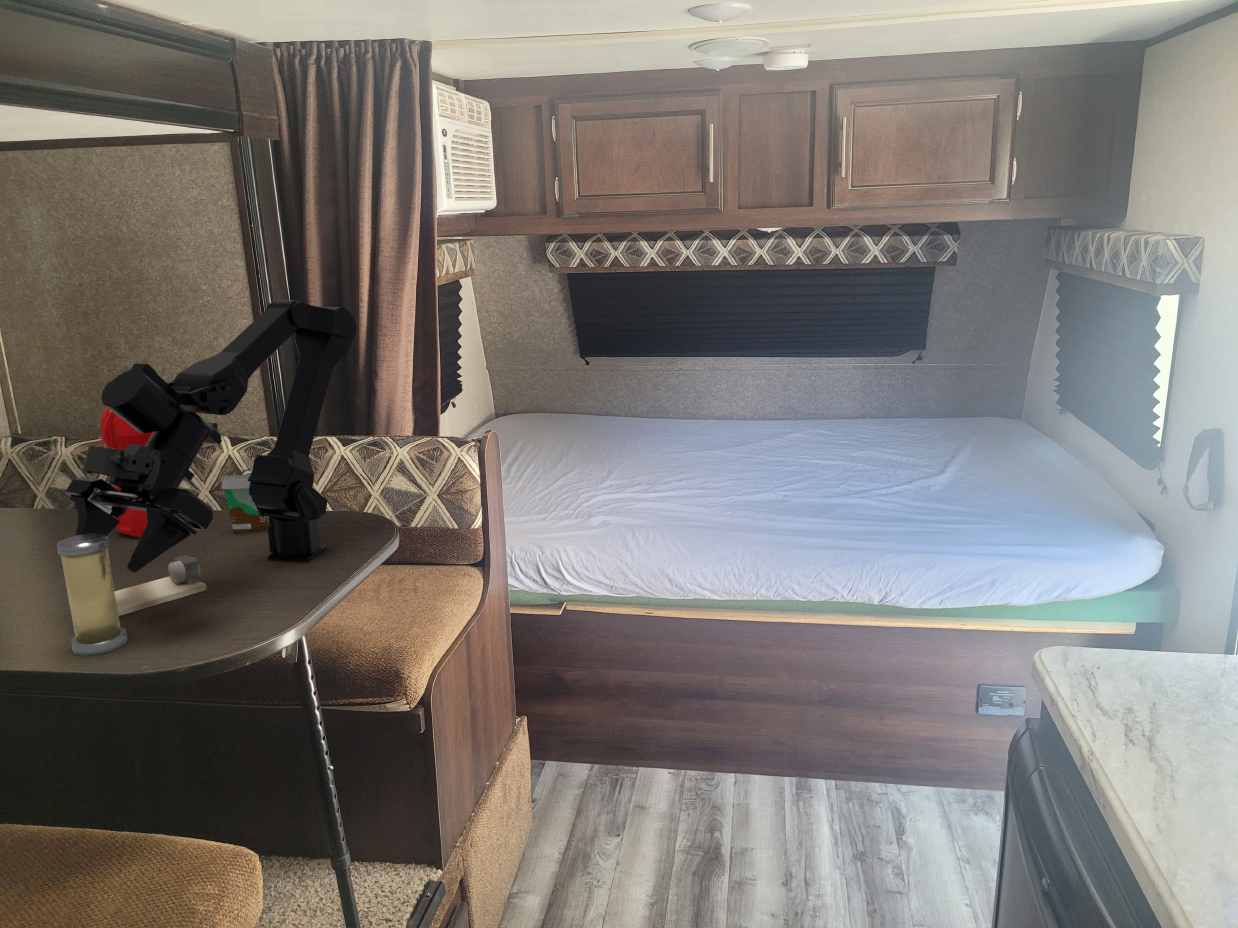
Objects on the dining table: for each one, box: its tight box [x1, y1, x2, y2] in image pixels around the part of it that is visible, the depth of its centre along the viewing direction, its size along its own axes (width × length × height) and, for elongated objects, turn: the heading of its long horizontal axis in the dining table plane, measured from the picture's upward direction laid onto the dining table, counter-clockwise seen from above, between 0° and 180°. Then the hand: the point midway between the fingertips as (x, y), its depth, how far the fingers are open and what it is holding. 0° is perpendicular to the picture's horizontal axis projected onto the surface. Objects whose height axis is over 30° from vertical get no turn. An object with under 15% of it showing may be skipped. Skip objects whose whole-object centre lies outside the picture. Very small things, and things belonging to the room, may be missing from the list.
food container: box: [221, 467, 269, 535], centre depth 146 cm, size 12×6×10 cm, turn 170°
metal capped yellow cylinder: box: [56, 534, 128, 657], centre depth 102 cm, size 6×6×13 cm
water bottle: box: [99, 407, 153, 539], centre depth 141 cm, size 9×11×25 cm
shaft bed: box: [114, 554, 208, 617], centre depth 116 cm, size 15×7×4 cm, turn 139°
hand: (102, 565), depth 103 cm, fingers open, 9 cm apart
